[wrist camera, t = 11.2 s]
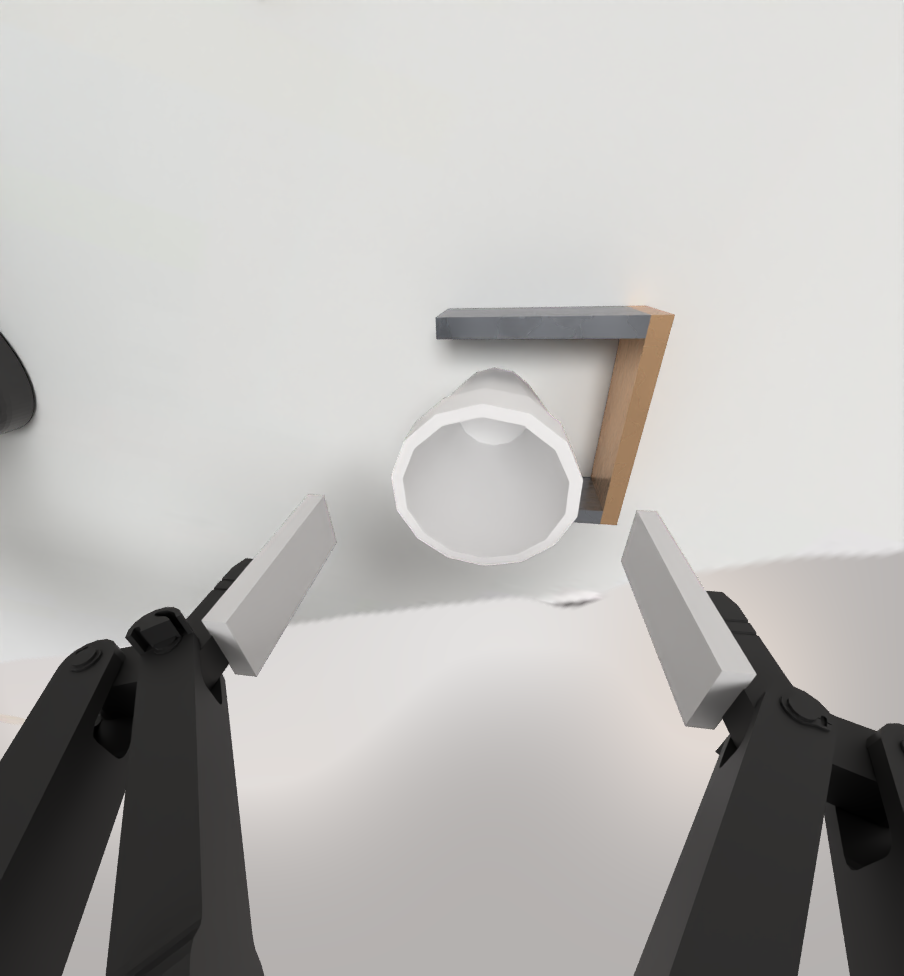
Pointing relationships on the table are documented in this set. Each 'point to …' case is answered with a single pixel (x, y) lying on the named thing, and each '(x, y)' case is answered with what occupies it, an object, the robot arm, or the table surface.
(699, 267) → the table surface
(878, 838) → the robot arm
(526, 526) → the foam cup
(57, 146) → the table surface
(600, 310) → the channel
